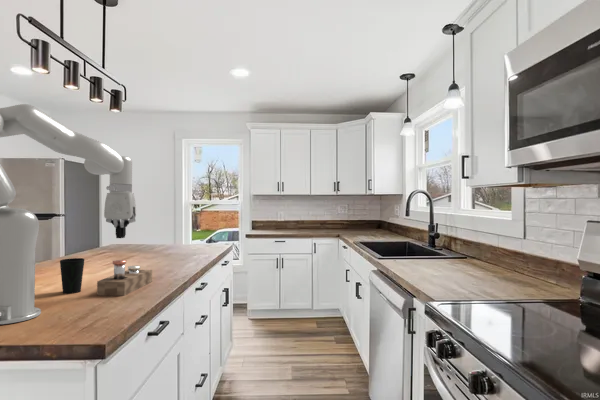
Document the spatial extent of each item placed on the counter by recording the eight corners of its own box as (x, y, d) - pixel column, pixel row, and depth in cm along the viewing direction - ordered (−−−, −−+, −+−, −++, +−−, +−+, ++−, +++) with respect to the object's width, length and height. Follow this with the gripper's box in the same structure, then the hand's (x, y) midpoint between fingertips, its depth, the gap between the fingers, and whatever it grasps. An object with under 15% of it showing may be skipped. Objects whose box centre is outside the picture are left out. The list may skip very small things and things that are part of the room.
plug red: (122, 280, 127) (122, 262, 127) (109, 280, 127) (110, 261, 127) (128, 278, 132) (128, 259, 132) (116, 278, 132) (116, 259, 132)
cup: (71, 295, 124) (72, 261, 124) (54, 293, 125) (54, 260, 125) (88, 290, 131) (89, 258, 131) (72, 288, 133) (72, 257, 133)
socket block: (124, 295, 124) (124, 281, 124) (97, 295, 124) (97, 281, 124) (152, 281, 146) (152, 269, 146) (128, 281, 146) (128, 269, 146)
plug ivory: (136, 285, 138) (136, 267, 138) (125, 285, 138) (125, 267, 138) (142, 282, 143) (142, 265, 143) (131, 282, 143) (131, 265, 143)
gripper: (95, 188, 126) (94, 238, 126) (135, 189, 126) (135, 239, 126) (107, 189, 134) (106, 236, 134) (145, 189, 134) (144, 237, 134)
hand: (120, 237), depth 130 cm, fingers closed
